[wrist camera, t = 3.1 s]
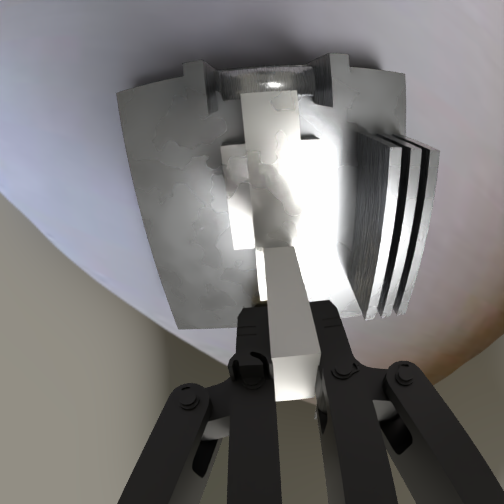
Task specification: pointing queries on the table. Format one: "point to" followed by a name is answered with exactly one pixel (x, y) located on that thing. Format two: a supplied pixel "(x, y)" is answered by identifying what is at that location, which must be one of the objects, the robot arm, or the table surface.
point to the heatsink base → (314, 191)
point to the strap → (273, 154)
